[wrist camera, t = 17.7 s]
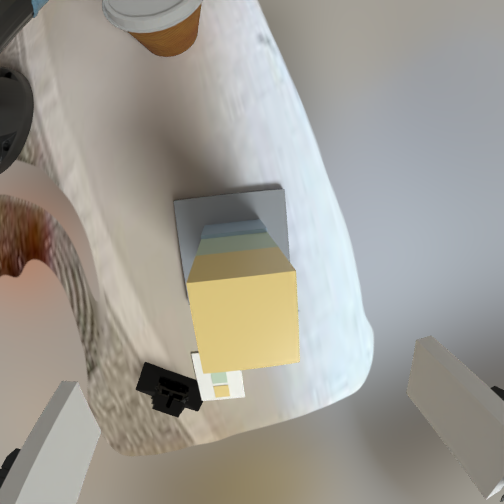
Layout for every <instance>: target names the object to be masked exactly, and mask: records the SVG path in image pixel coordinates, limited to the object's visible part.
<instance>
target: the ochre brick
mask: <svg viewBox="0 0 504 504" xmlns="http://www.w3.org/2000/svg"><path fill="white" fill-rule="evenodd" d="M186 285H187V291H188V297H189V302H190V308H191V314H192V319H193V325H194V330H195V335H196V341H197V346H198V351H199V356H200V361H201V366H202V370H203V374H207V373H219V372H229V371H238V370H247V369H255V368H263V367H271V366H278V365H284V364H291V363H297V362H300V353H299V325H298V302H297V282H296V270H295V269H294V268H293V266H292V265H291V263H290V262H289V261H288V259H287V258H286V257H285V255H284V254H283V253H282V251H281V250H280V248H279V247H270V248H261V249H252V250H243V251H234V252H226V253H217V254H208V255H199V256H195V259H194V262H193V265H192V268H191V271H190V274H189V277H188V280H187V283H186Z"/></svg>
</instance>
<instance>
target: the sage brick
mask: <svg viewBox="0 0 504 504" xmlns="http://www.w3.org/2000/svg"><path fill="white" fill-rule="evenodd" d="M270 247H278V246H277V244H276V243H275V242H274V240H273V239H272V238H271V236H270V235H269V234H268V232H263V233H254V234H244V235H235V236H226V237H217V238H209V239H201V241H200V244H199V247H198V250H197V253H196V256H199V255H208V254H217V253H226V252H234V251H243V250H252V249H261V248H270Z"/></svg>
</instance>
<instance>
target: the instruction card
mask: <svg viewBox="0 0 504 504" xmlns="http://www.w3.org/2000/svg"><path fill="white" fill-rule="evenodd" d="M191 355H192V360H193V364H194V369H195V373H196V378H197V382H198V386H199V390H200V395H201V399H202V401H208V400H220V399H230V398H240V397H245V393H244V386H243V379H242V372H241V370H238V371H229V372H219V373H207V374H203V370H202V366H201V361H200V356H199V353H191Z"/></svg>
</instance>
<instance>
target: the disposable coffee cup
mask: <svg viewBox="0 0 504 504" xmlns="http://www.w3.org/2000/svg"><path fill="white" fill-rule="evenodd" d="M202 1H203V0H102V9H103V12H104V15H105V17H106V18H107V20H108V21H109V22H110V23H111V24H112V25H114V26H115V27H117V28H119V29H121V30H125V31H127V32H128V33H130V34H131V35H132V36H133V37H134V38H136V39H137V40H138V41H139V42H140V43H141V44H143V45H144V46H145V47H146V48H147V49H148V50H149V51H151V52H152V53H153V54H155V55H158V56H163V57H170V56H175V55H178V54H181V53H183V52H184V51H186V50H187V49H188V48H190V47H191V46H192V44H193V43H194V41H195V40H196V37H197V33H198V25H199V18H200V10H201V3H202Z"/></svg>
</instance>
